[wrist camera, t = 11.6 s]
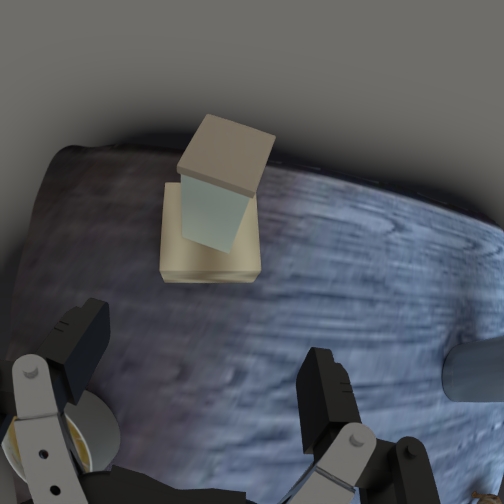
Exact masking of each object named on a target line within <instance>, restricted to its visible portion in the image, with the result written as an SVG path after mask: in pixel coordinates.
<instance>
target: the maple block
mask: <svg viewBox="0 0 504 504" xmlns="http://www.w3.org/2000/svg"><path fill="white" fill-rule="evenodd" d="M260 272H261V261H260V246H259V231H258V217H257V203H256V193H255V195H254V198H253V199H252V198H250V199H249V202H248V205H247V207H246V210H245V213H244V215H243V218H242V221H241V223H240V226H239V229H238V231H237V234H236V237H235V239H234V242H233V245H232V248H231V250H230V253H229V254H228V253H225V252H222V251H219V250H217V249H214V248H211V247H208V246H206V245H203V244H200V243H197V242H194V241H192V240H189V239H186V238H183V237H182V215H181V183H165V194H164V205H163V218H162V232H161V250H160V273H161V275H162V278H163V280H164V283H253V282H254V280H255V279H256V277H257V276H258V275H259V273H260Z"/></svg>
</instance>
